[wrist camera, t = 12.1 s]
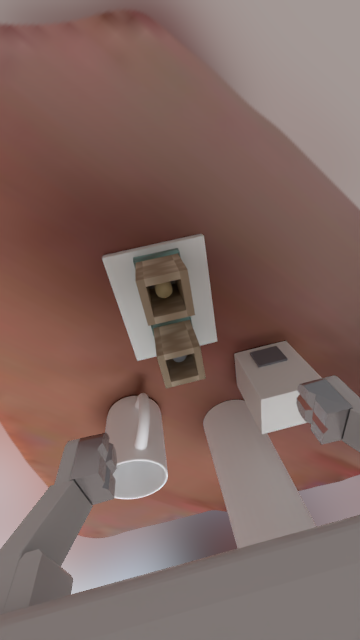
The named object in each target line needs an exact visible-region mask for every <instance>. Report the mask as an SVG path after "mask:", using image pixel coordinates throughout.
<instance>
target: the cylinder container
mask: <svg viewBox="0 0 360 640" xmlns="http://www.w3.org/2000/svg"><path fill="white" fill-rule="evenodd" d="M203 427H204V431H205V434H206V438H207V441H208V445H209V448H210V452H211V455H212V459H213V462H214V466H215V469H216V473H217V477H218V480H219V484H220V487H221V491H222V494H223V498H224V501H225V505H226V508H227V512H228V515H229V519H230V523H231V526H232V529H233V533H234V536H235V540H236V544H237V547H238V548H242V547H245V546H249V545H253V544H256V543H260V542H264V541H267V540H271V539H274V538H278V537H282V536H285V535H289V534H292V533H296V532H300V531H303V530H307V529H311V528H314V527H317V526H316V524H315V523H314V521H313V519H312V517H311V515H310V513H309V511H308V509H307V508H306V506H305V504H304V502H303V500H302V498H301V496H300V494H299V492H298V491H297V489H296V487H295V485H294V483H293V481H292V479H291V477H290V475H289V474H288V472H287V470H286V468H285V466H284V464H283V462H282V460H281V459H280V457H279V455H278V453H277V451H276V449H275V447H274V445H273V444H272V442H271V440H270V438H269V436H268V434H267V433H266V434H261V432H260V430H259V428H258V426H257V424H256V422H255V420H254V418H253V416H252V414H251V412H250V410H249V408H248V406H247V404H246V402H245V401H243V400H229V401H225V402H222V403H220V404H218V405H216V406H215V407H213V408H212V409H211V410H210V411H209V412H208V413H207V414H206V416H205V418H204V420H203Z"/></svg>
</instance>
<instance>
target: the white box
mask: <svg viewBox="0 0 360 640" xmlns="http://www.w3.org/2000/svg"><path fill="white" fill-rule="evenodd" d="M234 358H235V369H236V381H237V386H238V388H239V390H240V392H241V394H242V396H243V398H244V400H245V402H246V404H247V406H248V408H249V410H250V412H251V414H252V416H253V418H254V420H255V422H256V424H257V426H258V428H259V430H260V432H261V434H266V433H269V432H273V431H277V430H281V429H285V428H288V427H292V426H296V425H300V424H303V423H307V422H306V421H305V420H304V419H303V418H302V416H301V415H300V413H299V411H298V408H297V404H296V402H297V397H298V396H299V395H300V393H299V392H298V391H297V389H298V385H299V384H302V383H305V382H309V381H313V380H317V379H322V378H321V377H320V376H319V374H318V373H317V372H316V371H315V370H314V369H313V368H312V367H311V366H310V365H309V364H308V363H307V362H306V361H305V360H304V359H303V358H302V357H301V356H300V355H299V354H298V353H297V352H296V351H295V350H294V349H293V348H292V346H291V345H290V344H289V343H288V342H287V341H282V342H278V343H274V344H270V345H266V346H262V347H258V348H254V349H250V350H246V351H242V352H238V353H234Z"/></svg>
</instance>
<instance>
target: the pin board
mask: <svg viewBox="0 0 360 640" xmlns="http://www.w3.org/2000/svg"><path fill="white" fill-rule="evenodd" d="M175 248H178V250H179V252H180V258H181V259H182V261H183V263H184V264H185V266H186V268H187V269H188V275H189V281H190V287H191V293H192V299H193V305H194V311H195V315H193V316H190V317H191V321H192V326H193V329H194V332H195V334H196V337H197V339H198V342H199V344H200V346H201V345H205V344H209V343H213V342H217V334H216V327H215V319H214V311H213V303H212V295H211V288H210V280H209V272H208V264H207V256H206V248H205V241H204V235H203V234H197V235H192V236H188V237H183V238H179V239H174V240H170V241H165V242H161V243H156V244H152V245H148V246H143V247H139V248H134V249H130V250H125V251H121V252H116V253H112V254H107V255H103V257H102V260H103V263H104V266H105V269H106V272H107V275H108V278H109V280H110V283H111V286H112V289H113V292H114V295H115V298H116V301H117V304H118V306H119V309H120V312H121V315H122V318H123V321H124V324H125V327H126V330H127V332H128V335H129V338H130V341H131V344H132V347H133V350H134V353H135V356H136V358H137V361H140V360H144V359H148V358H152V357H156V356H157V355H156V347H155V339H154V335H153V332H152V328H151V325H150V326H148V324H147V320H146V317H145V313H144V310H143V306H142V302H141V299H140V295H139V292H138V288H137V285H136V281H135V266H134V263H133V258H134V257H138V256H143V255H148V254H152V253H157V252H161V251H166V250H170V249H175ZM175 283H176V282H175V281H170V282H166V283H161V284H157V285H152V286H149V287H150V289H153V288H155V291H156V294H157V295H158V296H159V297H161V298H167V297H169V296H170V295H171V294H172V286H171V284H175ZM186 356H187V355H185V356H181V357H177V358H173V360H174V361H175V362H182V361H184V360H185V359H186Z"/></svg>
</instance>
